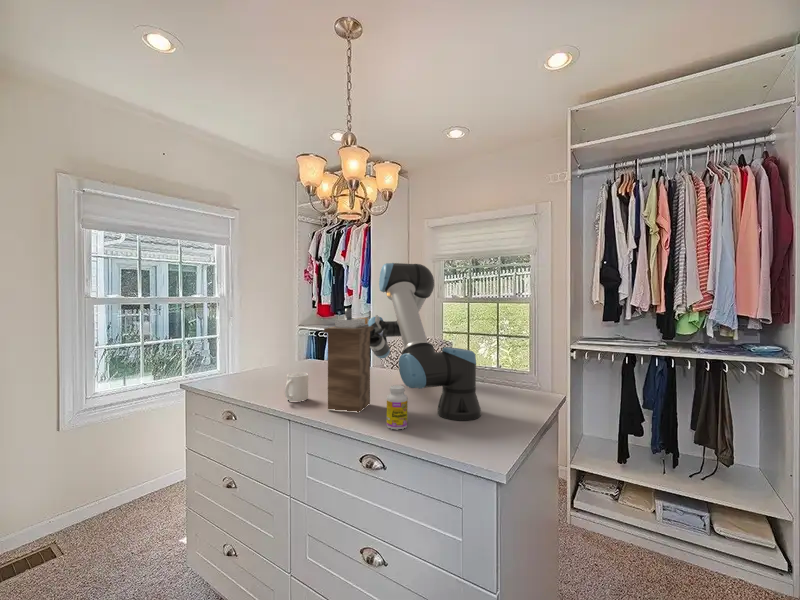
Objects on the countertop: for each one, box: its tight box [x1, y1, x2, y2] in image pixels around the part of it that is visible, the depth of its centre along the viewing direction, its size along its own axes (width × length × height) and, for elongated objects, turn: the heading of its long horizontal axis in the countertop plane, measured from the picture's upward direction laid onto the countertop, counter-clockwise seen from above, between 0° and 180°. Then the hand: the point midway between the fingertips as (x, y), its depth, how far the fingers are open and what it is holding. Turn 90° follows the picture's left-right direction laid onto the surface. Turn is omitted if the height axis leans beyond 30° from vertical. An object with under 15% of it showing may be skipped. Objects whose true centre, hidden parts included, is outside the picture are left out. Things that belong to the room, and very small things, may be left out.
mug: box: [284, 372, 309, 401], centre depth 153 cm, size 12×8×10 cm
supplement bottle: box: [386, 384, 409, 430], centre depth 123 cm, size 7×7×13 cm
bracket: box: [334, 308, 368, 328], centre depth 150 cm, size 20×8×7 cm, turn 166°
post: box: [323, 325, 373, 412], centre depth 145 cm, size 14×14×30 cm
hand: (360, 317), depth 156 cm, fingers open, 13 cm apart
